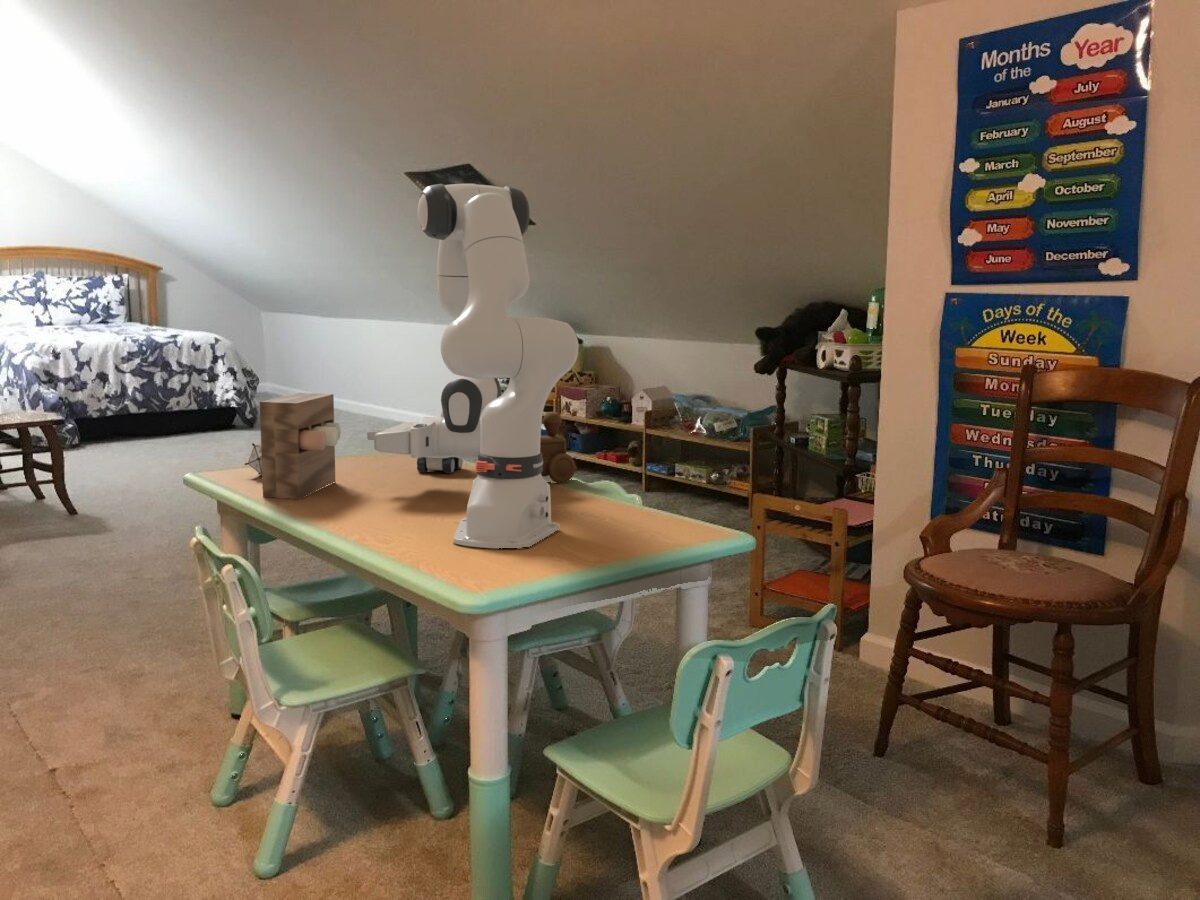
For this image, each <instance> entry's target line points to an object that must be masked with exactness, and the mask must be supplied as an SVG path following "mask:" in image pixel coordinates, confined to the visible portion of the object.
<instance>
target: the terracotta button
mask: <svg viewBox="0 0 1200 900" xmlns="http://www.w3.org/2000/svg"><path fill="white" fill-rule="evenodd" d="M298 434H299V449H303V450H324V448H325V446H326V434H325V432H324V431H308V430H298Z"/></svg>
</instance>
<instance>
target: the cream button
mask: <svg viewBox="0 0 1200 900" xmlns="http://www.w3.org/2000/svg"><path fill="white" fill-rule="evenodd" d="M311 431H324V432H325V434H326V446H335V447H336V445H337V443H338V441H339V440H338V430H337V428H336V427H319V426H311Z"/></svg>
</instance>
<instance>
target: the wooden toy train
mask: <svg viewBox="0 0 1200 900" xmlns="http://www.w3.org/2000/svg"><path fill="white" fill-rule="evenodd" d="M562 422H563V420H562V418H561V416H560V414H559V412H557V411H547V412H546V413H545V415H544V416H543V417H542V424H543V427H544V429H545V431H546V433H547V435H541V438H540V452H541V453H542V459H543V471H542V472H541V475H542V477H543V478H544V477H549V478H550V479H551V480H552V482H554V483H557V484H564V483H563V482H565V483H567V482H568V481H570V480H571V479H572V478H573V477H574V474H575V473H576V472H578V470H577V469H578V466H577V465H576V463H575V460H574V459H573V457H572V456H571V455H570V454H568V453H567V439H566V438H565V437H564V436H562V435H557V433H558V431H559V429H560V427H561V424H562ZM566 481H567V482H566Z"/></svg>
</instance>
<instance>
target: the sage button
mask: <svg viewBox="0 0 1200 900" xmlns="http://www.w3.org/2000/svg"><path fill="white" fill-rule="evenodd" d="M323 424H324V427H336V428H337V430H338V441H339V440H340V438H341V431H342V430H341V425H340V424H339V423H338V422H334V423H325V422H323Z"/></svg>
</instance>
